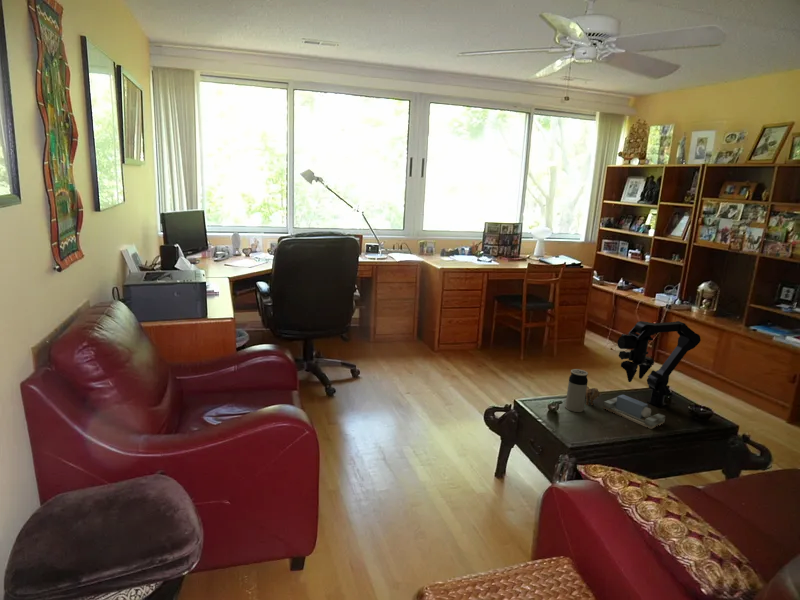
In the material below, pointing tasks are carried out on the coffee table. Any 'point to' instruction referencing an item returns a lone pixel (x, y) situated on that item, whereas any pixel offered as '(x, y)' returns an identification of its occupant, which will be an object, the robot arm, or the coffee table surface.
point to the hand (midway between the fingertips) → (634, 380)
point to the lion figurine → (591, 395)
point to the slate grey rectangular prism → (632, 406)
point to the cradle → (647, 422)
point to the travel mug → (576, 390)
